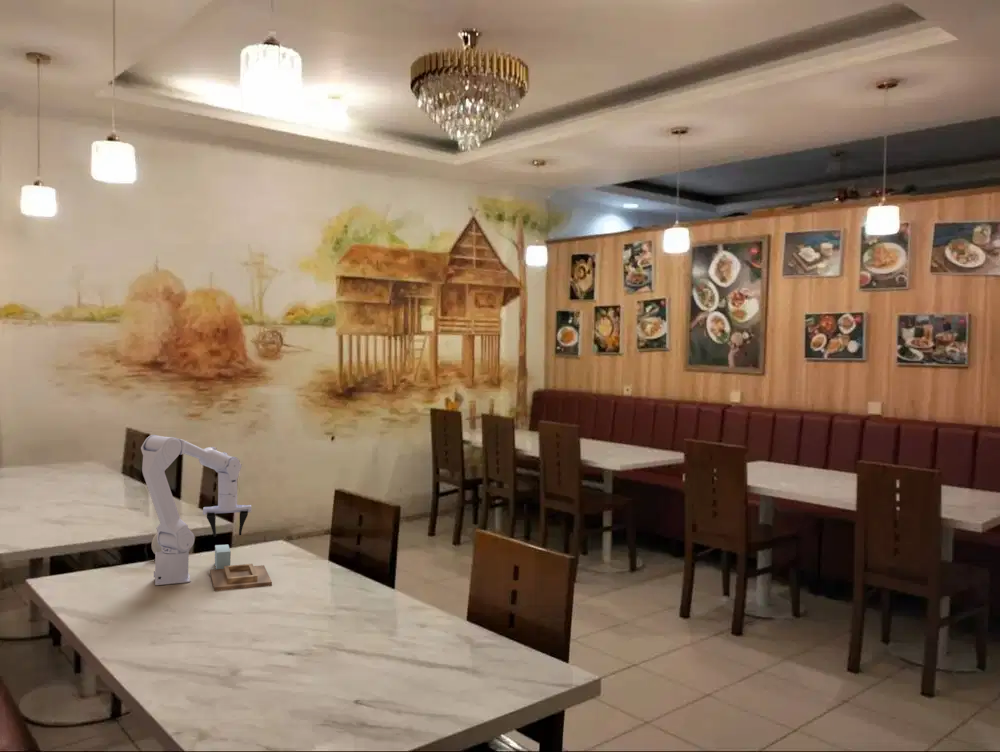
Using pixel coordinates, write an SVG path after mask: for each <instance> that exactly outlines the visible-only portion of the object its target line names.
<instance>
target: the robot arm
mask: <svg viewBox="0 0 1000 752" xmlns="http://www.w3.org/2000/svg"><path fill="white" fill-rule="evenodd" d="M140 451H141V454H142V467H141V472H142V476H143V478H144V481H145V483H146V486H147V489H148V492H149V495H150V497H151V500H152V503H153V506H154V510H155V513H156V515H157V517H158V520H159V524H158V525H157V526H156V529H155V530H156V533H158V535H157V542H158V544H159V545H160V546H161V550H162V551H161V552H156V553H155V554H154V555H155V556H154V557H155V558H154V566H155V567H154V571H153V578H154V585H155V586H162V585H174V584H175V585H176V584H183V583H184V584H185V583H191V576H190V573H189V562H190V561H189V559H190V558H189V557H190V555H189V552H190V551H191V548H192V547H193V546H194V544H195V534H194V533H193V531H191V530H190V528H189V526H188V524H187V522H185V521H184V520H182V518H181V517H180V514H179V511H178V508H177V505H176V502H175V499H174V496H173V493H172V491H171V487H170V484H169V482H168V478H167V475H166V472H165V471H166V470H167V469H168V468H169V467H170V466H171V465H172V464H173V462H175V460H176V459H177V458H178V457H179V455H180V456H181V455H186V456H188V457H192V458H195V459H198V461H199V464H200V465H202V466H203V467H207V468H209V469H212V470H214V471H215V472H216V473H217V481H218V482H217V505H213V506H204V507H203V508H202V515H206V519H207V522H208V523H209V525H210V527H211V530H212V534H213V535H212V536H213V537H214V538H215V537H216V536H217V525H216V521H217V519H216V518H217V516H216V515H217V514H230V513H239V529H238V536H242V532H243V531H242V530H243V529H244V524H245V521H246V520H247V518H248V513H252V504H247V505H246V504H238V478H239V475H240V474H239V473H240V471H241V469H242V467H243V466H242V465H243V464H241V461H240V459H239V458H238V457H236V456H231V455H229V454H228V453H227V452H225V451H223V452H221V451H218V450H217V447H215V446H210V447H205V448H203V447H202V448H201V447H199V446H198V445H195V444H193V443H191V442H189V441H188V440H185V439H181V438H177V437H174V436H162V435H158V434H151V435H149V436H148V437H146V438H145V440H144V442H143V443H142V445H141V446H140ZM216 538H217V537H216Z"/></svg>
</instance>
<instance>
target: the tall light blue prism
mask: <svg viewBox="0 0 1000 752" xmlns="http://www.w3.org/2000/svg"><path fill="white" fill-rule="evenodd" d="M231 553H232V552H231V549H230V545H229V544H215V545H214V566H216V567H215V569H224V566H231Z"/></svg>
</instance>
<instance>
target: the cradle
mask: <svg viewBox="0 0 1000 752" xmlns="http://www.w3.org/2000/svg"><path fill="white" fill-rule="evenodd" d="M209 572H210V573H209V574H210V578H211V582H212V588H213V591H214V592H216V591H218V592H219V591H227V590H237V589H247V588H257V587H268V585H269V586H272V585H273V581H272V579H271V577H270V575H269V573H268V571H267V568H266V567H265V565H264V564H263V565H262V564H261V565H254V564H253V563H246V564H245V563H244V564H234V565H233V564H232V565H231V564H230V566H224V569H216V568H215V569H209Z"/></svg>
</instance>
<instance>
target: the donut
mask: <svg viewBox="0 0 1000 752" xmlns="http://www.w3.org/2000/svg"><path fill="white" fill-rule="evenodd" d="M157 535H158V533H157V532H156V534H154V536H153V538H152V540H151V550H152V552H153V554H154V555H155V553H156V552H161V551H162V550H161V546H160V545H159V544H158V542H157Z"/></svg>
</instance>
